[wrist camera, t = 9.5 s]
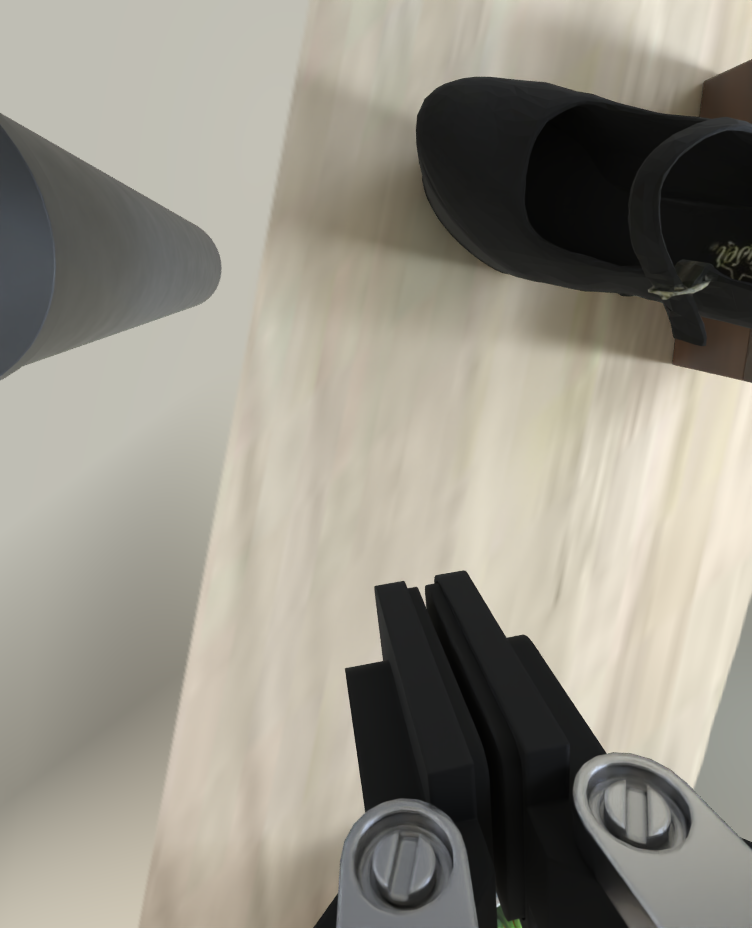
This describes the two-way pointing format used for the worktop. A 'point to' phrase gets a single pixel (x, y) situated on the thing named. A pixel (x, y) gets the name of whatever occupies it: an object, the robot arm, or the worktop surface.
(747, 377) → the shoe rack rail
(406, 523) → the worktop surface
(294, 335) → the worktop surface
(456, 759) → the robot arm
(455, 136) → the high-heeled shoe
